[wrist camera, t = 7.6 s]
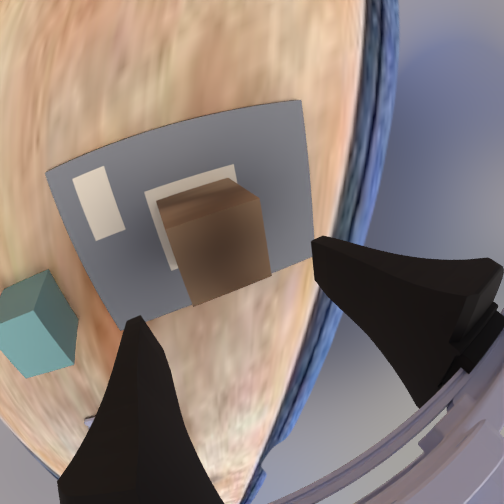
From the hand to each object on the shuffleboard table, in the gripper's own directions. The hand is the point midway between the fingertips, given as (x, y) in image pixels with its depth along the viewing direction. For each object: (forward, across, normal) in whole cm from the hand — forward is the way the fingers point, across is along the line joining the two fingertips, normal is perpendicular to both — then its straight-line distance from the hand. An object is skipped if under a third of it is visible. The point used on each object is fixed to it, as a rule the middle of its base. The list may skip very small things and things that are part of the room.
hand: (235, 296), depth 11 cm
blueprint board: (+8, -1, 0) cm, 8 cm away
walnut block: (+8, -1, 0) cm, 8 cm away
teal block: (+8, +12, +1) cm, 15 cm away
